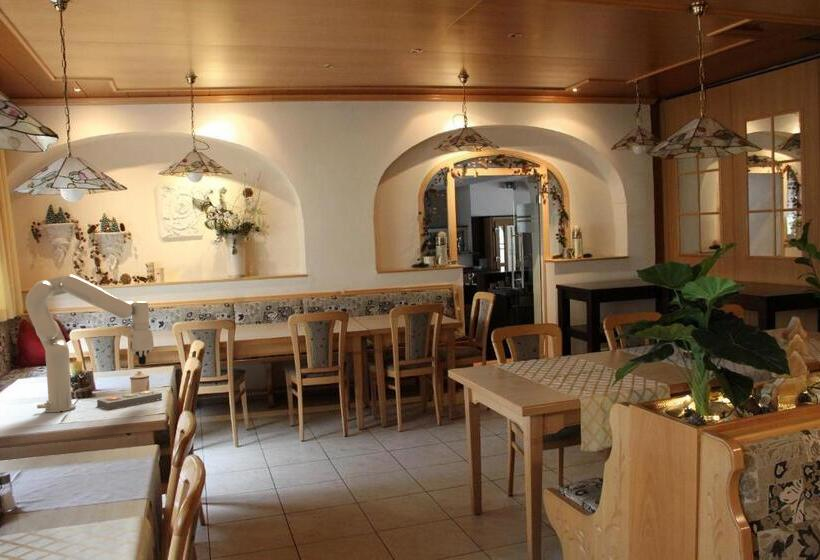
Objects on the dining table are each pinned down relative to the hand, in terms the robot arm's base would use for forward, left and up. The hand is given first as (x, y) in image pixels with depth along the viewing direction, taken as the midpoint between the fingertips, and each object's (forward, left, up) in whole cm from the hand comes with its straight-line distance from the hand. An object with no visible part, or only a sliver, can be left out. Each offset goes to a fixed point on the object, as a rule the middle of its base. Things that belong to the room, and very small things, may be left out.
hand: (142, 364), depth 337 cm
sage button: (-7, -1, -17) cm, 18 cm away
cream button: (+1, -1, -17) cm, 17 cm away
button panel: (-7, -1, -17) cm, 19 cm away
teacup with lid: (+6, +16, -18) cm, 24 cm away
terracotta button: (-15, -1, -17) cm, 23 cm away
